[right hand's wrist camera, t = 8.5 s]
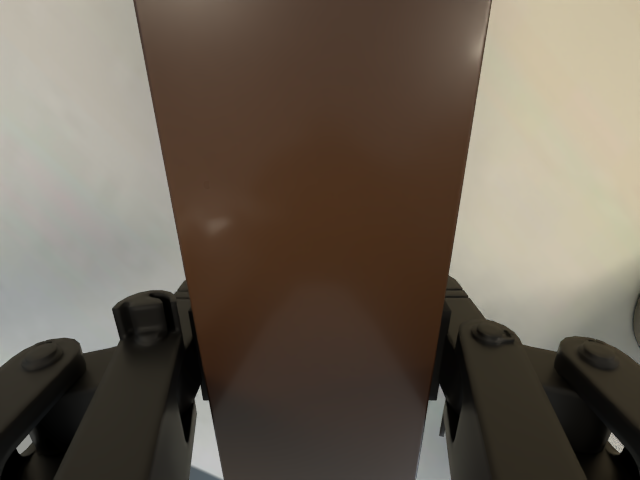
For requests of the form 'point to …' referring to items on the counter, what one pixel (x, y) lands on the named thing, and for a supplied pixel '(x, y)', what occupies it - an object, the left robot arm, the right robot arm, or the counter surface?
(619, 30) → the counter surface
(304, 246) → the plank
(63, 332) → the counter surface
